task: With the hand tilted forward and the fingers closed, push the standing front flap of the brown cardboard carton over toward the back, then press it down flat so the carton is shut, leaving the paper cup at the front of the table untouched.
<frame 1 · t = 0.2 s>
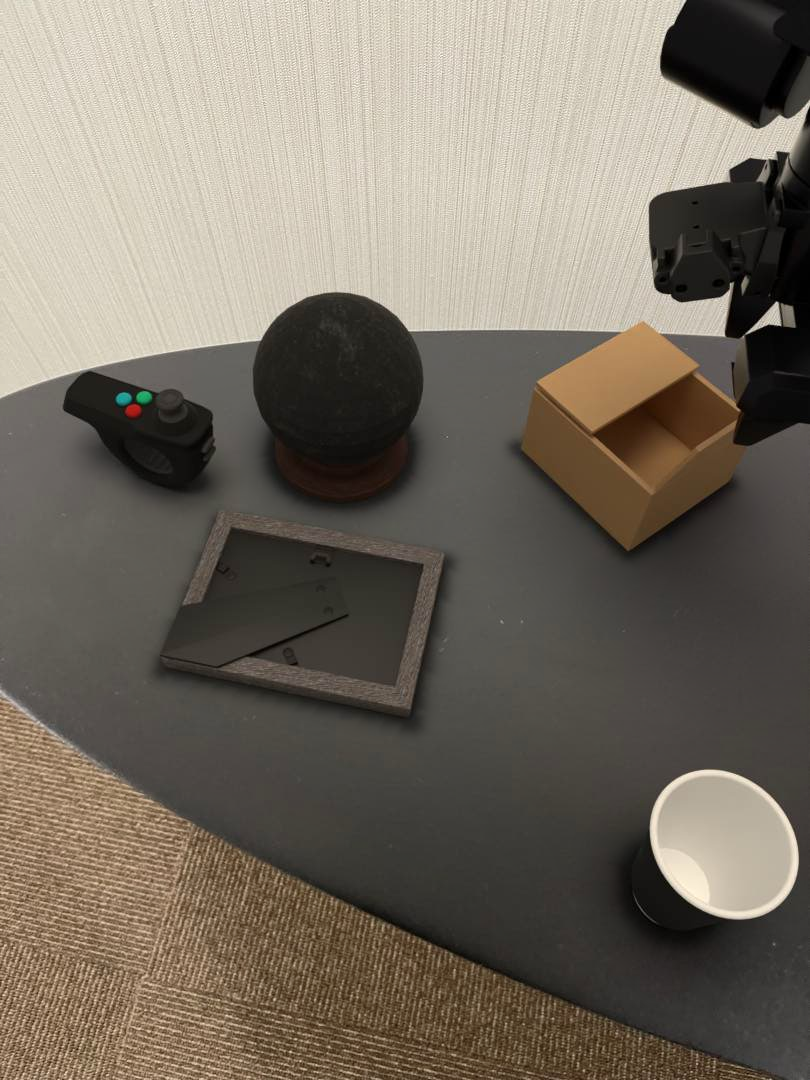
hand: (736, 387, 57), 18 cm above the table, tool pointing down, fingers open, 9 cm apart
controller: (156, 469, 76), on the table
dixie cup: (668, 889, 58), on the table
black ball on stand: (341, 451, 77), on the table
flap: (732, 432, 65), point 11 cm above the table, hinge at 105.0°
carton: (623, 465, 77), on the table
picture frame: (310, 614, 68), on the table
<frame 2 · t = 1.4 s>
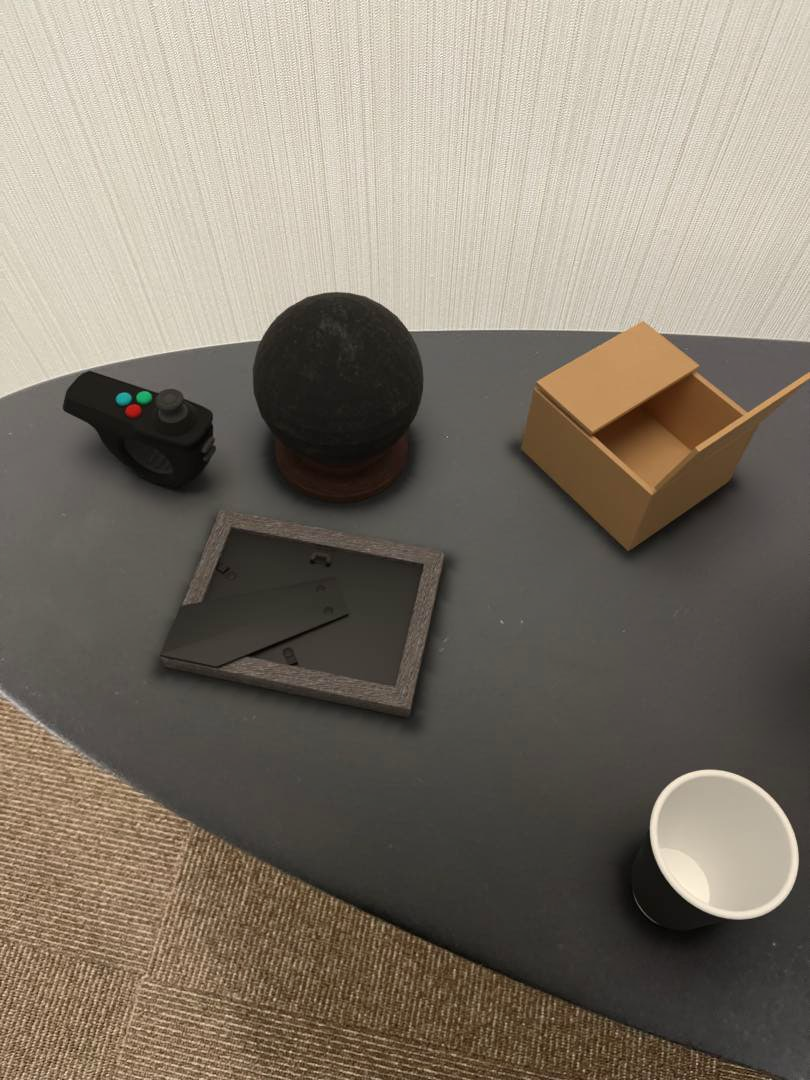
nothing on the table moved.
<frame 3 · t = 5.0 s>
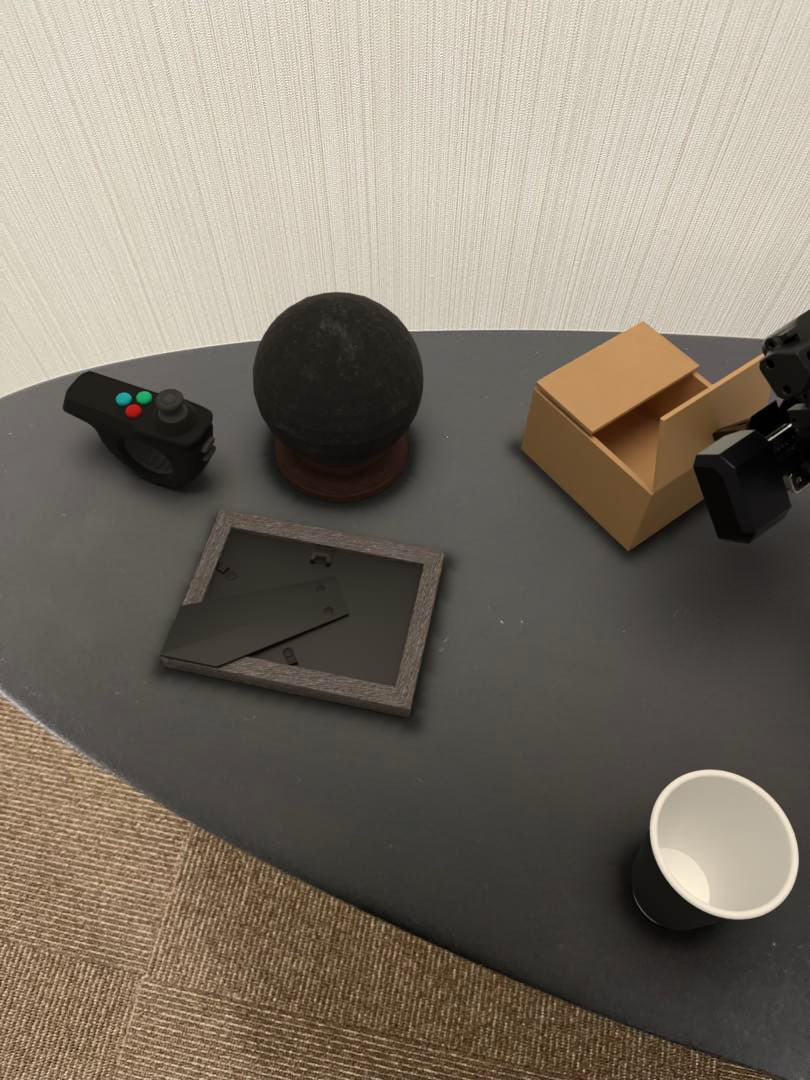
hand: (717, 437, 66), 10 cm above the table, tool tilted 45°, fingers closed, pressing on flap
flap: (715, 418, 65), point 11 cm above the table, hinge at 75.8°, touching gripper
everything else where it was.
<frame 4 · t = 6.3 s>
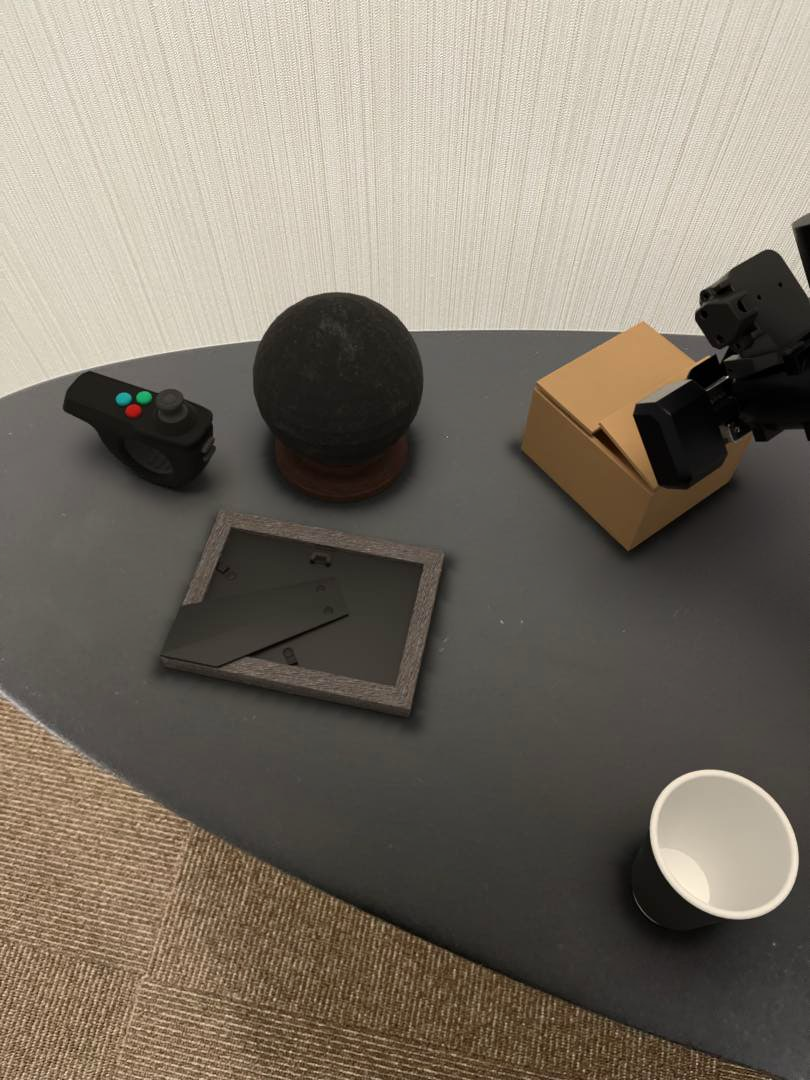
hand: (665, 395, 69), 10 cm above the table, tool tilted 45°, fingers closed
flap: (682, 420, 68), point 9 cm above the table, hinge at 13.4°
everything else where it was.
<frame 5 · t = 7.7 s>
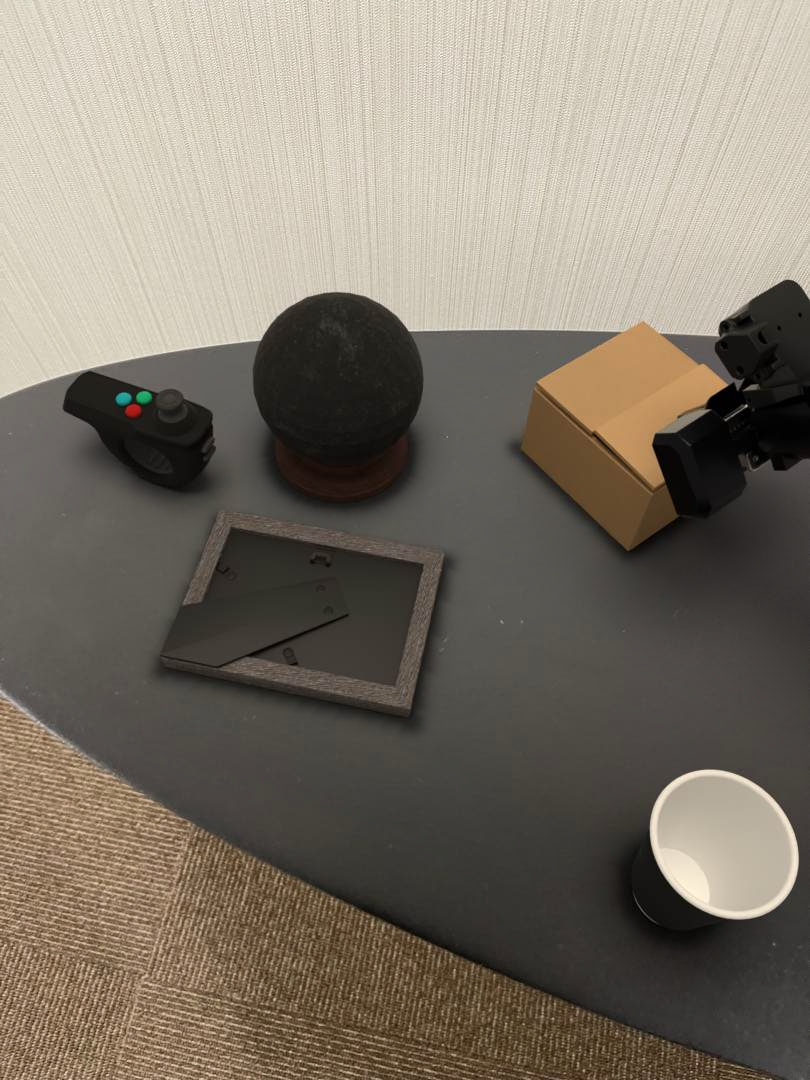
hand: (681, 420, 69), 9 cm above the table, tool tilted 45°, fingers closed, pressing on flap
flap: (679, 424, 69), point 8 cm above the table, hinge at 3.8°, touching gripper
everything else where it was.
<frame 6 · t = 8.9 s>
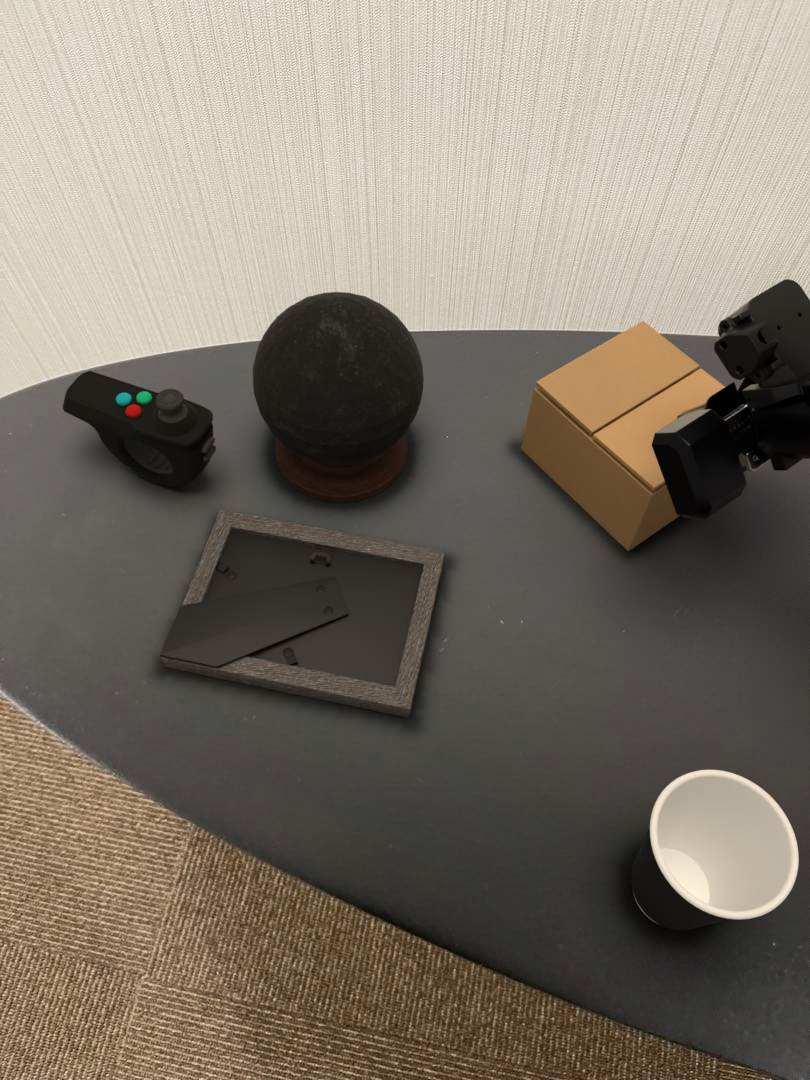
hand: (681, 420, 69), 9 cm above the table, tool tilted 45°, fingers closed
flap: (678, 426, 69), point 8 cm above the table, hinge at -1.3°
everything else where it was.
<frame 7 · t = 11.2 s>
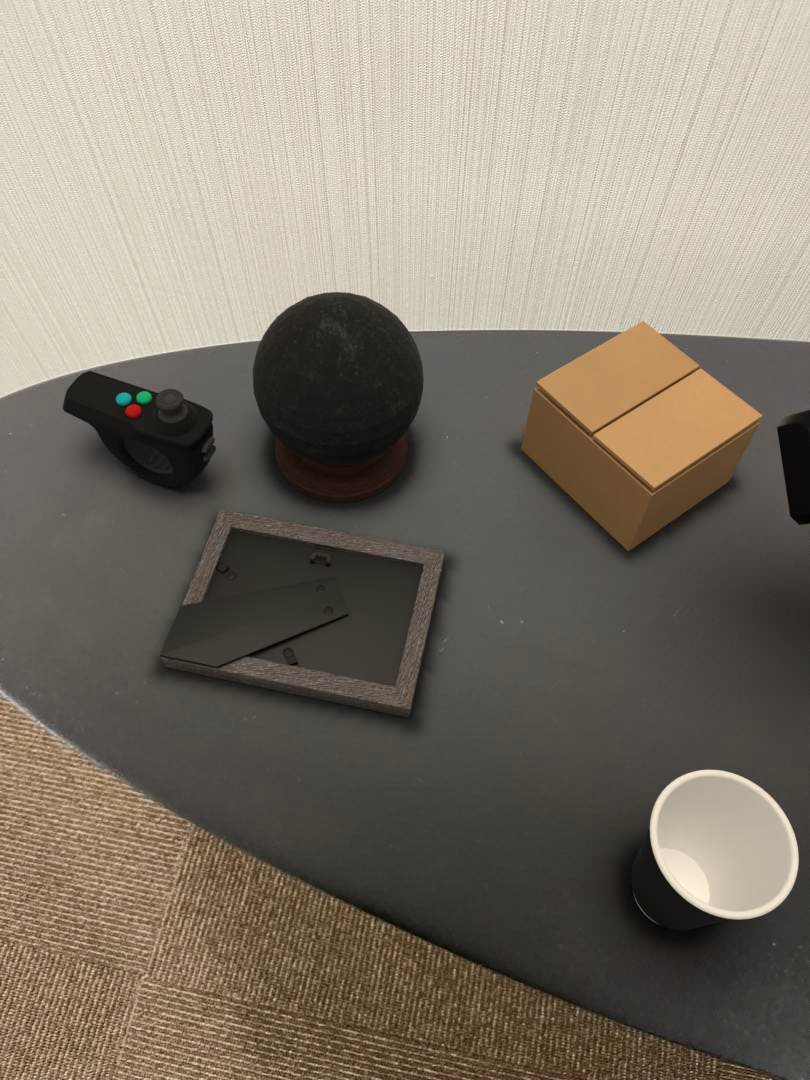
hand: (806, 473, 61), 13 cm above the table, tool tilted 35°, fingers closed
nothing on the table moved.
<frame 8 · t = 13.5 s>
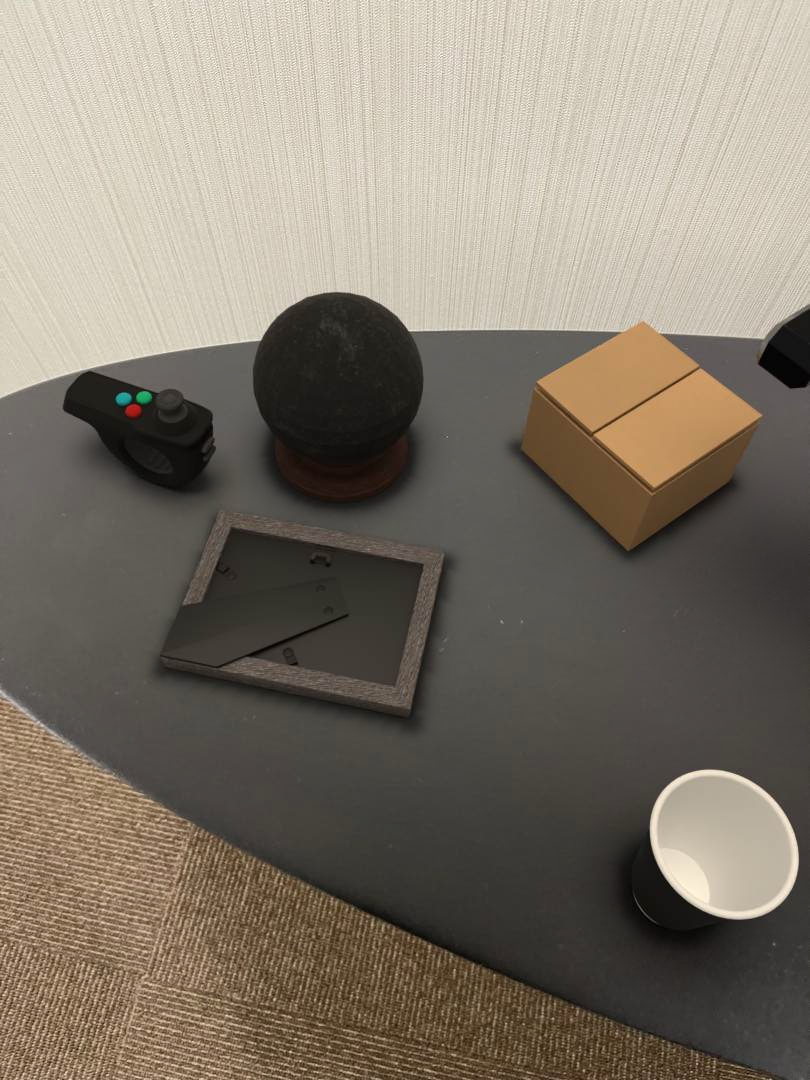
nothing on the table moved.
at the end: flap at -1° (first picture: +105°); dixie cup moved 0.2 cm from its start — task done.
